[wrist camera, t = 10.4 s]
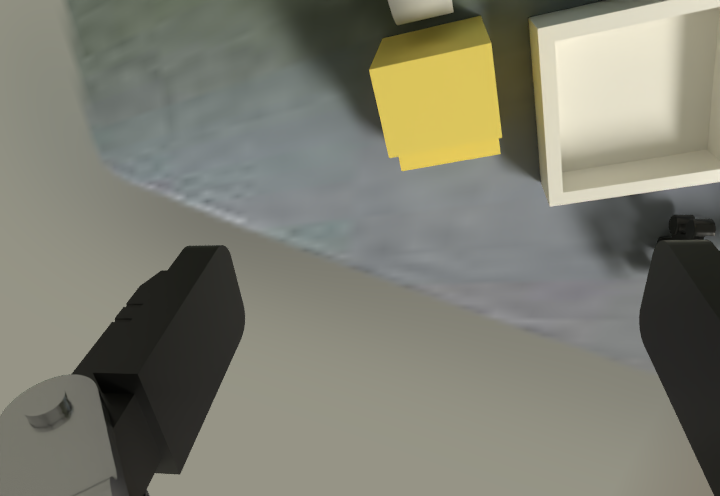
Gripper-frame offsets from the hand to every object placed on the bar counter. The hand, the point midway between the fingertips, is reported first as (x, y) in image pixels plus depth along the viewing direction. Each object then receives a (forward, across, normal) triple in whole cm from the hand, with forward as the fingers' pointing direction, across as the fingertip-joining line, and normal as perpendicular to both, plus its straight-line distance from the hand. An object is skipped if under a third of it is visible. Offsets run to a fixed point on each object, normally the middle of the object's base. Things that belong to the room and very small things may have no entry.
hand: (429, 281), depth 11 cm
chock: (+21, 0, +2) cm, 21 cm away
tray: (+21, -10, +3) cm, 23 cm away
